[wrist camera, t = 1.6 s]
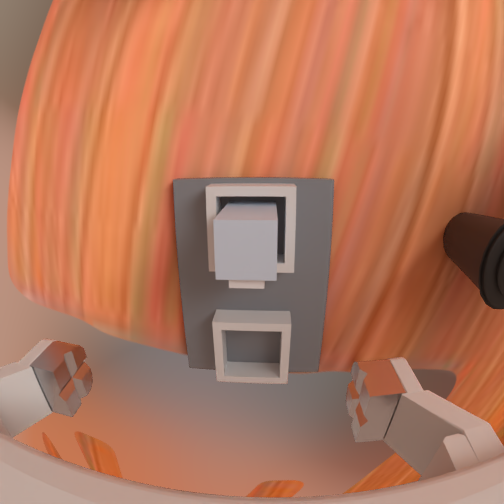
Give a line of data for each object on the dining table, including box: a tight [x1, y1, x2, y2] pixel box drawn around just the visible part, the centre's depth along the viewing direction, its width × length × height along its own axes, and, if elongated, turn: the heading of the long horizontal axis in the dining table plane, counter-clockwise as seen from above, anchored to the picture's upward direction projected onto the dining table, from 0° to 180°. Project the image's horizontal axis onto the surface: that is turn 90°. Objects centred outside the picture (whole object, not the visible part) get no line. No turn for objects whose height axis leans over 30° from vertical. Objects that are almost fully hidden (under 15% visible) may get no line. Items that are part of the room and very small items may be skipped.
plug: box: [213, 201, 278, 289], centre depth 24 cm, size 4×5×8 cm
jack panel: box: [173, 177, 334, 384], centre depth 29 cm, size 14×20×4 cm
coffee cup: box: [443, 212, 504, 309], centre depth 23 cm, size 8×8×10 cm
